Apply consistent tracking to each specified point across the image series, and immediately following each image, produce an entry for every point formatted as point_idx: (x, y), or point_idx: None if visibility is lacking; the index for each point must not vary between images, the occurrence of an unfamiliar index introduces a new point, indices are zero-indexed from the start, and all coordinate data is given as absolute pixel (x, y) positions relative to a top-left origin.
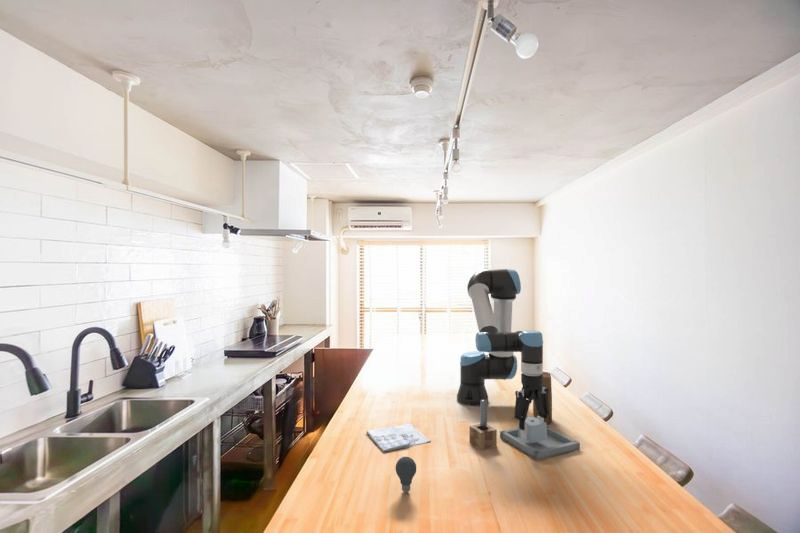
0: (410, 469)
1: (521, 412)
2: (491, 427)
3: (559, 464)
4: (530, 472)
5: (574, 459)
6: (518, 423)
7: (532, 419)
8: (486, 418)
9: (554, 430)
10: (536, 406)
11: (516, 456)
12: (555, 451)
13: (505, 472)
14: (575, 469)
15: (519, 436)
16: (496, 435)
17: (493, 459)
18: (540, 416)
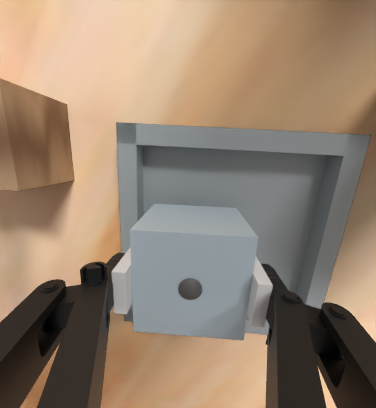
0: None
1: (29, 379)
2: (6, 154)
3: (171, 339)
4: None
5: (230, 342)
6: (138, 223)
7: (212, 272)
8: None
9: (342, 232)
10: (277, 362)
11: (94, 260)
12: None
13: (17, 304)
14: (186, 368)
15: (196, 166)
16: (42, 185)
17: (19, 243)
18: (269, 303)
